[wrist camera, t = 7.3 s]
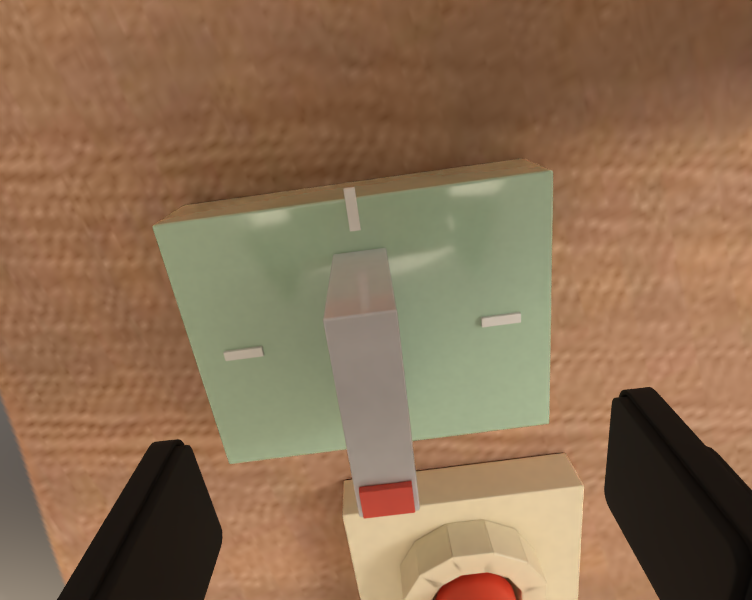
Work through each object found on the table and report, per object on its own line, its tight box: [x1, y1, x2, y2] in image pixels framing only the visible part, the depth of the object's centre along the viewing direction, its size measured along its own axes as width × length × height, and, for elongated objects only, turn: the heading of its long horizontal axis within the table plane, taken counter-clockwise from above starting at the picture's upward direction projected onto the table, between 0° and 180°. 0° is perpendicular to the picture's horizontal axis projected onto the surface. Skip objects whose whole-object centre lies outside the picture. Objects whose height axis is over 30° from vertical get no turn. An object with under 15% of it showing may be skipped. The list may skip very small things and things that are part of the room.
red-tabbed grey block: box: [323, 248, 420, 519], centre depth 15 cm, size 6×2×5 cm, turn 7°
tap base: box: [153, 158, 553, 464], centre depth 19 cm, size 13×11×3 cm
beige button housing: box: [342, 453, 584, 600], centre depth 24 cm, size 11×9×4 cm
